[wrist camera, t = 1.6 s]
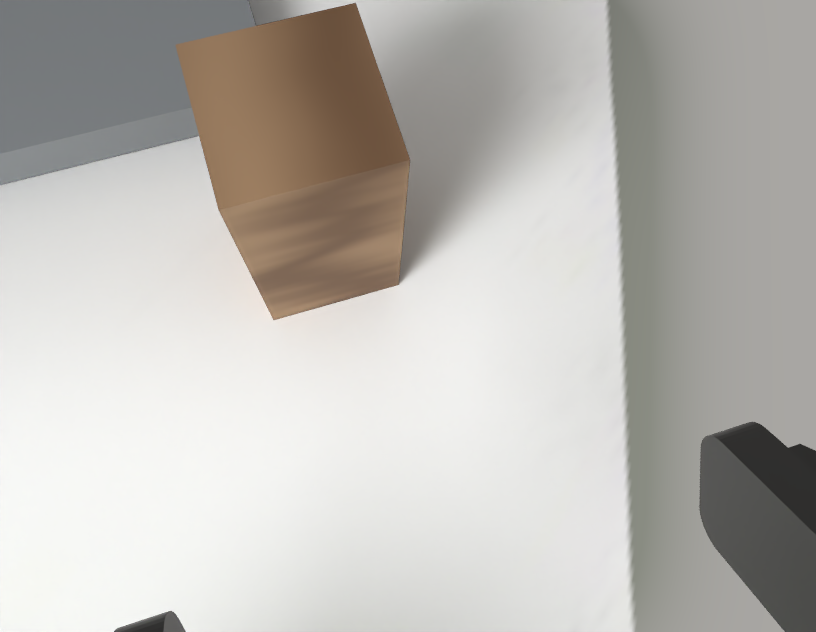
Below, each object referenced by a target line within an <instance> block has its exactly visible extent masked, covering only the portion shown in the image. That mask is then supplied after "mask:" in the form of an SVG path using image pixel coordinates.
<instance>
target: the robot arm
mask: <svg viewBox="0 0 816 632" xmlns="http://www.w3.org/2000/svg"><path fill="white" fill-rule="evenodd" d="M700 515H701V519H702V522H703V525H704V528H705V530H706V532H707V535H708V537H709V538H710V540H711V542H712V543H713V545H714V547H715V548H716V549H717V550H718V552H719V553H720V554H721V555H722V557H723V558H724V559H725V560H726V561H727V563H728V564H729V565H730V566H731V567H732V568H733V570H734V571H735V572H736V573H737V574H738V576H739V577H740V578H741V579H742V581H743V582H744V583H745V584H746V585H747V586H748V588H749V589H750V590H751V591H752V593H753V594H754V595H755V596H756V597H757V599H758V600H759V601H760V602H761V603H762V605H763V606H764V607H765V608H766V609H767V611H768V612H769V613H770V614H771V616H772V617H773V618H774V619H775V620H776V621H777V623H778V624H779V625H780V626H781V628H782V629H783V630H784V631H785V632H816V451H815V450H812V449H810V448H808V447H806V446H803V445H801V444H799V445H796V446H793V447H790V448H787V447H786V446H785V445H784V444H783V443H782V442H781V441H779V440H778V439H777V438H776V437H775V436H774V435H773V434H771V433H770V432H769V431H768V430H767V429H766V428H764V427H763V426H762V425H760V424H758V423H756V422H749V423H746V424H743V425H739V426H736V427H733V428H730V429H728V430H725V431H721V432H718V433H715V434H712V435H709V436H706V437H705V438H704V439H703V440H702V443H701V461H700ZM114 632H186V631H185V630H184V628H183V626H182V624H181V622H180V620H179V619H178V617H177V615H176V614H175V613H174V612H172V611H169V612H166V613H162V614H159V615H156V616H153V617H150V618H147V619H144V620H141V621H138V622H135V623H132V624H129V625H126V626H123V627H120V628H117V629H116V630H115V631H114Z"/></svg>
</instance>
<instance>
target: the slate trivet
mask: <svg viewBox="0 0 816 632" xmlns="http://www.w3.org/2000/svg"><path fill="white" fill-rule="evenodd" d="M254 26H256V24H255V21H254V18H253V14H252V11H251V8H250V4H249V1H248V0H0V185H2V184H6V183H10V182H14V181H18V180H22V179H26V178H30V177H34V176H38V175H42V174H46V173H50V172H54V171H58V170H62V169H66V168H70V167H74V166H78V165H83V164H87V163H91V162H95V161H99V160H103V159H107V158H111V157H115V156H119V155H123V154H127V153H131V152H135V151H139V150H143V149H147V148H151V147H155V146H159V145H163V144H167V143H171V142H175V141H179V140H183V139H187V138H191V137H195V136H199V133H198V129H197V125H196V122H195V118H194V114H193V110H192V106H191V103H190V99H189V95H188V91H187V87H186V84H185V80H184V76H183V72H182V68H181V64H180V61H179V57H178V53H177V49H176V44H180V43H185V42H189V41H193V40H197V39H202V38H206V37H210V36H215V35H219V34H223V33H228V32H232V31H236V30H241V29H245V28H249V27H254Z"/></svg>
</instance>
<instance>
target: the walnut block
mask: <svg viewBox="0 0 816 632" xmlns="http://www.w3.org/2000/svg"><path fill="white" fill-rule="evenodd" d="M176 49H177V53H178V57H179V61H180V64H181V68H182V72H183V76H184V80H185V84H186V87H187V91H188V95H189V99H190V103H191V106H192V110H193V114H194V118H195V122H196V125H197V129H198V133H199V137H200V141H201V144H202V148H203V152H204V156H205V160H206V163H207V167H208V171H209V175H210V179H211V182H212V186H213V190H214V194H215V198H216V202H217V205H218V209H219V211H220V213H221V215H222V217H223V220H224V222H225V224H226V226H227V228H228V230H229V232H230V234H231V236H232V238H233V240H234V242H235V244H236V246H237V248H238V250H239V252H240V254H241V256H242V258H243V260H244V262H245V264H246V266H247V268H248V270H249V272H250V274H251V276H252V278H253V280H254V282H255V284H256V286H257V288H258V290H259V292H260V294H261V296H262V298H263V300H264V302H265V304H266V306H267V308H268V310H269V312H270V314H271V316H272V318H273V320H276V319H280V318H283V317H287V316H290V315H294V314H297V313H301V312H304V311H308V310H311V309H315V308H318V307H322V306H325V305H329V304H332V303H336V302H340V301H343V300H347V299H350V298H354V297H357V296H361V295H364V294H368V293H371V292H375V291H378V290H382V289H385V288H389V287H392V286H396V285H399V274H400V264H401V253H402V242H403V231H404V220H405V209H406V199H407V188H408V177H409V166H410V158H409V155H408V152H407V150H406V147H405V144H404V141H403V138H402V135H401V132H400V129H399V126H398V124H397V121H396V118H395V115H394V112H393V109H392V106H391V103H390V101H389V98H388V95H387V92H386V89H385V86H384V83H383V80H382V77H381V75H380V72H379V69H378V66H377V63H376V60H375V57H374V54H373V52H372V49H371V46H370V43H369V40H368V37H367V34H366V31H365V28H364V26H363V23H362V20H361V17H360V14H359V11H358V8H357V5H356V3H353V4H349V5H345V6H340V7H336V8H332V9H327V10H323V11H319V12H314V13H310V14H306V15H301V16H297V17H293V18H288V19H284V20H280V21H275V22H271V23H267V24H262V25H258V26H254V27H249V28H245V29H241V30H236V31H232V32H228V33H223V34H219V35H215V36H210V37H206V38H202V39H197V40H193V41H189V42H185V43H180V44H176Z"/></svg>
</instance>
